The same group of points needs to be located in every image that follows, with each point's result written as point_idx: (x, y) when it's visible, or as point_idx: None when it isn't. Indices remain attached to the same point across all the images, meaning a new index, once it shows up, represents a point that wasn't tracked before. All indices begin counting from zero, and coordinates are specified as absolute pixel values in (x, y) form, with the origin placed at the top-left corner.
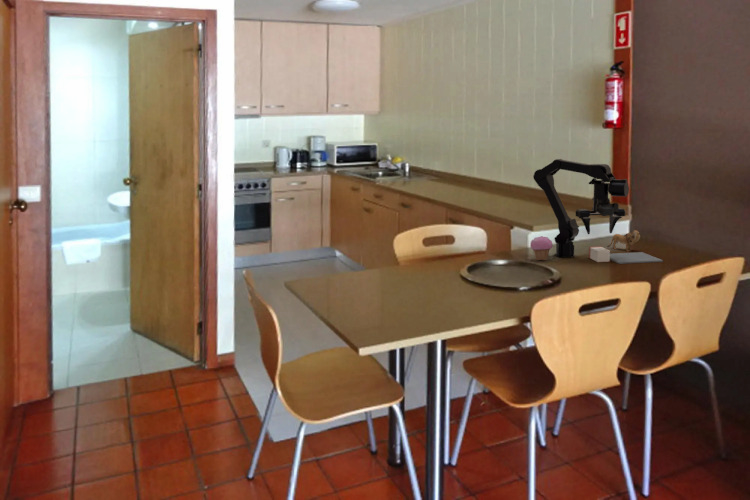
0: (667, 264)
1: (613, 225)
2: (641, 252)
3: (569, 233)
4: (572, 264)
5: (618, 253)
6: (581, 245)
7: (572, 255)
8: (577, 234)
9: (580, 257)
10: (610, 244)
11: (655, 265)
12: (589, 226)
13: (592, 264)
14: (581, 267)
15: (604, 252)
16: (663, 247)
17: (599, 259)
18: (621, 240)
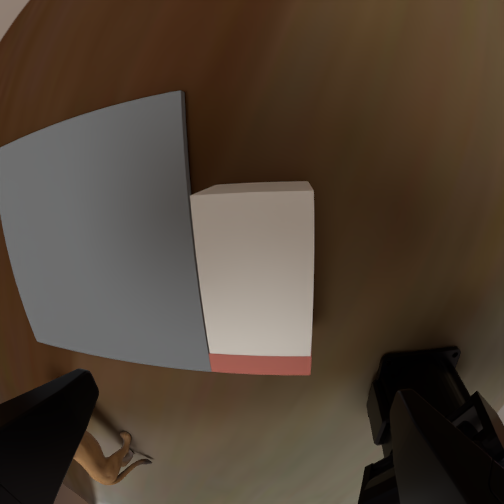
0: (3, 93)
1: (2, 413)
2: (38, 337)
3: (499, 439)
4: (483, 147)
5: (119, 354)
6: (232, 500)
7: (389, 367)
8: (373, 486)
9: (352, 344)
10: (137, 463)
11: (40, 62)
12: (458, 473)
13: (373, 105)
14: (457, 49)
15: (245, 190)
16: (8, 386)
17: (293, 183)
18: (89, 445)
